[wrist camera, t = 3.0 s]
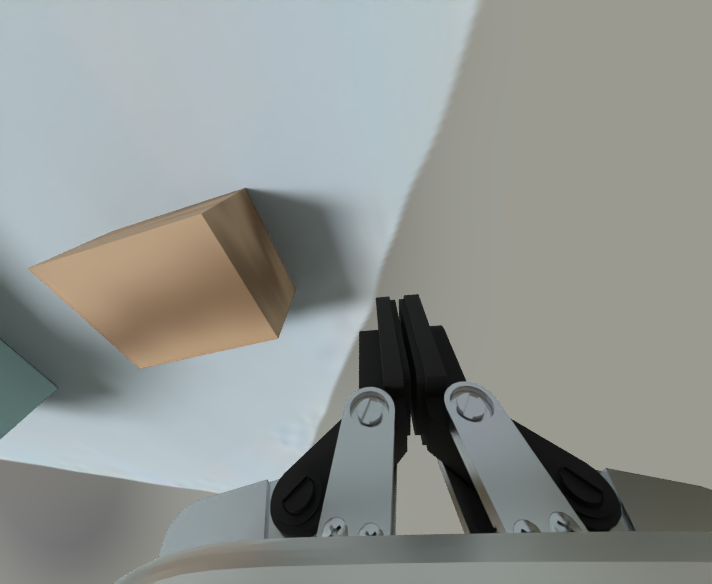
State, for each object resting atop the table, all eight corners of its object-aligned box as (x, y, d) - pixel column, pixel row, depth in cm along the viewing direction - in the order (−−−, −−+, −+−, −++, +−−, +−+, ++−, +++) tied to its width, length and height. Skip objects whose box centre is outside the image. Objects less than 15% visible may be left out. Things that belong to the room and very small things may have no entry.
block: (114, 230, 16) (27, 268, 12) (246, 187, 14) (201, 213, 10) (186, 316, 19) (139, 368, 15) (296, 288, 18) (278, 338, 14)
